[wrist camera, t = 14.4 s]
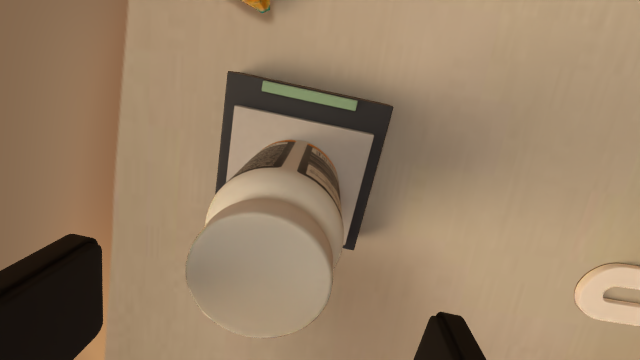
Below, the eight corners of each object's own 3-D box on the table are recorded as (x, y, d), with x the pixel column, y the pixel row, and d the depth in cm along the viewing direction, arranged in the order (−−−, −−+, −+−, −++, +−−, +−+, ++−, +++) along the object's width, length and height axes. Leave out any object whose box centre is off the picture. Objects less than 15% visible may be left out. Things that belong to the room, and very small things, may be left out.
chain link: (660, 325, 24) (693, 274, 23) (668, 331, 24) (702, 279, 22) (563, 310, 24) (590, 258, 22) (569, 315, 23) (597, 262, 22)
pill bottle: (248, 219, 20) (172, 345, 10) (249, 132, 18) (157, 188, 8) (334, 226, 20) (338, 360, 10) (344, 141, 18) (358, 206, 8)
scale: (387, 104, 20) (395, 107, 17) (352, 236, 23) (354, 255, 20) (237, 71, 19) (223, 70, 17) (222, 210, 22) (208, 226, 20)
